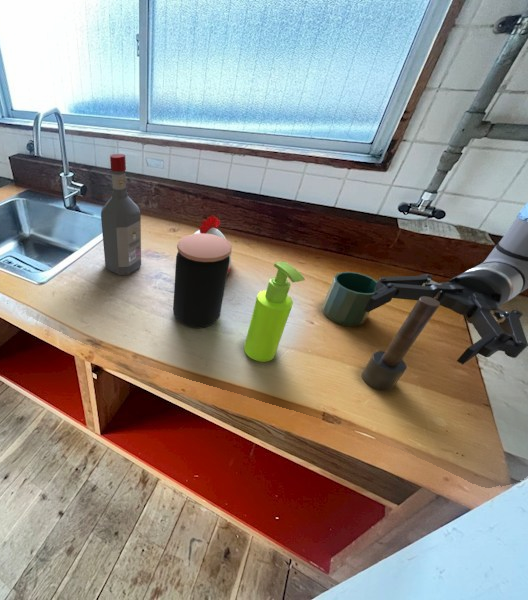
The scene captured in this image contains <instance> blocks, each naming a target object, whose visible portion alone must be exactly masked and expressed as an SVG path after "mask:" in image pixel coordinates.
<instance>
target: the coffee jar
mask: <svg viewBox="0 0 528 600" xmlns="http://www.w3.org/2000/svg"><path fill="white" fill-rule="evenodd" d="M225 238H226V237H225ZM225 238H222V237H220V236H217V235H212V234H204V233H200V234H194V233H191V234H187V235H184V236H183V237H181V238H180V239H179V240H178V241H177V244H176V248H177V253H176V257H175V271H174V286H173V287H174V288H173V304H172V310H173V315H174V317H176V319H177V320H178V321H179V322H180V323H181V324H183V325H184V326H187V327H190V328H194V329H202V328H204V329H205V328H207V327H211V326H212V325H213V324H215V323H216V322H218V320H219V318H220V317H221V313H222V312H221V311H222V305H223V300H224V295H225V289H226V283H227V278H228V274H229V273H228V267H229V261H230V256H229V255H230V253H231V254H232V251H231V249H232V247H233V246H232V244H231V242H230V241H229V240H227V238H226V239H225ZM227 273H228V274H227Z"/></svg>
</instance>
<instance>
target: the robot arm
mask: <svg viewBox="0 0 528 600" xmlns="http://www.w3.org/2000/svg"><path fill="white" fill-rule="evenodd" d="M432 278H433V275H432V274H429V273H423V274H420V275H410V276H409V275H407V276H405V275H403V276H382V277H381V276H380V277H379V278H378V280H377V282H378V283H377V285H376V287H375V288H374V289H375V290H376V292H375V293H374V295H373V297H371V298H370V299H369V301H368V303H367V305H366V307H365V309H364V310H365V311H366V312H370V313H371V312H372V311H374V310H375V309H378V308H381V307H382V306H384V305H386V304H388V303H390V302H391V301H392V300H393V299H399V300H407V301H408V300H409V301H410V300H411V301H418V300H419V298H420V297H423V296H426V297H431V298H434V299H436V300H437V301H439V302H440V306H441V307H443V308H446V309H449V310H451V311H453V312H454V313H456V314H459V315H461V316H464V318H465V320H466V322H467V323H469V324H472V326H473V328H474V329H475V330H476V332H477V334H478V335H479V337H480V339H479V340H477V341H475V342H474V343H473V344H471V345H470V346H468V347H467V348H466V349H465V351H463V352H462V354H461V355H460V356H459V357H458V359H457V360H456V362H457V363H459V364H460V365H464V364H466V363H467V362H469V361H470V360H471V359H473V358H475V357H476V356H477V355H481V356H482V357H483V358H491V356H493V355H494V354H495V353H496V352H503V353H504V354H505V355H506V356H507V357H509V358H513V359H516V358H517V357H518V356H519V355H521V354H522V353H523V351H524V350H525V349H526V348H528V340H527V337H526V334H525V331H524V328H523V325H522V322H521V320H520V319H521V317H522V316H523V312H522V311H519V310H516V309H513V310H512V309H511V311H508V310H506V311H505V310H503V309H500V307H502V306H503V305H504V304H505V303H507V302H509V301H511V300H512V299H514V298H515V297H516V296H518V295H520V294H521V293H523V292H524V291H526V290H528V202H527V203H525V205H524V206H523V207H522V209H520V211H519V213H518V214H517V216H516V217H515V219H514V220H513V221H512V223H511V225H510V226H509V228H508V229H507V230H506V232H505V233H504V235H503V236H502V237H501V239H500V241H498V243H497V244H496V245H495V246H494V248H492V250H491V252H490V253H489V254H488V256H487V257H486V259H485V260H484V261H483V262H481V263H480V264H478V265H476V266H473V267H472V268H470V269H467V270H466V271H464V272H462V273H459V274H458V275H456V276H454V277H452V278H451V279H449V280H448V281H446V282H437V281H434V280H432Z"/></svg>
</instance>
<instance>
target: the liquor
mask: <svg viewBox="0 0 528 600" xmlns="http://www.w3.org/2000/svg"><path fill="white" fill-rule="evenodd" d="M109 160H110V171H111V182H112V183H111V184H112V186H111V187H112V192H111V196H110V198H108V200H107V202H106V203H105V204H104V205H103V207H102V208H101V211H100V221H101V232H102V242H103V243H102V244H103V253H104V265H105V269H106V270H107V271H110V272H112V273H114V274H116V275H118V276H127V275H131V274H132V273H134V272H136V270H138V269H140V268H141V266H142V225H141V224H142V223H141V222H142V219H141V218H142V217H141V210H140V208H139V206H138V205H137V204H136V203H135V202H134V200H133V199H131V197H129V195H128V191H127V178H126V177H127V175H126V170H127V163H126V154H125V153H124V154H123V153H114V154H111V155H110V156H109Z"/></svg>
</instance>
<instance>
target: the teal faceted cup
mask: <svg viewBox="0 0 528 600" xmlns="http://www.w3.org/2000/svg"><path fill="white" fill-rule="evenodd" d="M377 283H378V280H376V279H375V278H373V277H371V276H369V275H367V274H364V273H359V272H355V271H341V272H338V273H336V274H335V275H334V278H333V279H332V281H331V284H330V286H329V288H328V290H327V293H326V296H325V298H324V300H323V302H322V305H321V312H322V314H323V315H324V316H325V317H326V318H327V319H329V320H330V321H332V322H334V323H336V324H339V325H342V326H346V327H357V326H361V325H363V324H364V323H365V321H366V320H367V318H368V316H369V314H370V313H371V311H370V312H366V311H365V310H364V309H365V307H366V305H367V303H368V301H369V299H370V298H371V297H373V295H374V293H375V292H376V290H375V289H374V288H375V287H376V285H377Z"/></svg>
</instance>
